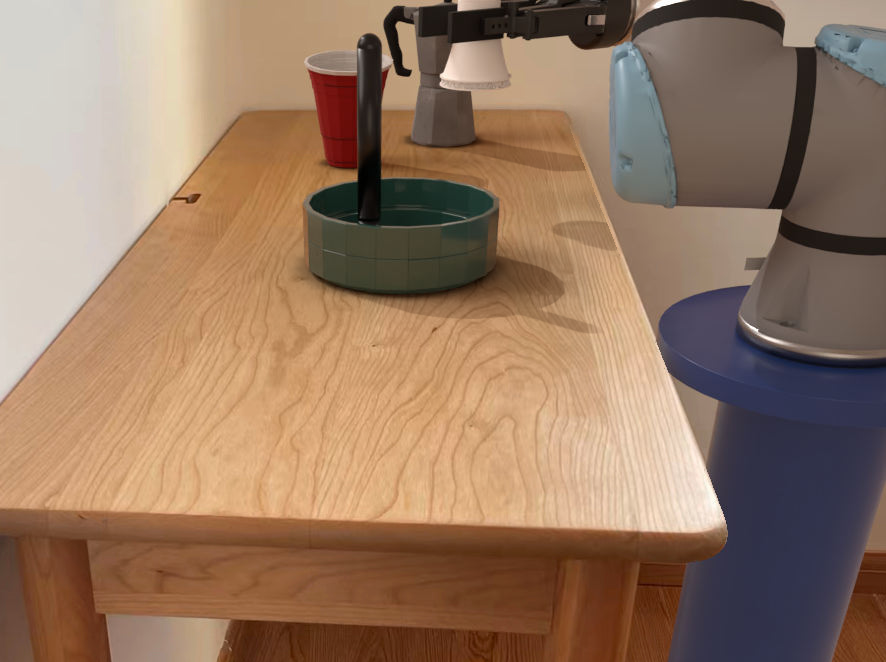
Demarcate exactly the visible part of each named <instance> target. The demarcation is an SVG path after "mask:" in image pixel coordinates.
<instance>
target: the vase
mask: <svg viewBox="0 0 886 662" xmlns="http://www.w3.org/2000/svg"><path fill="white" fill-rule="evenodd" d="M457 4H458V11H466V10H477V9H488V8H499V7H500V5H501V0H457ZM502 42H503V41H502V39H493V40H483V41H473V42H464V43H454V44H452V48H451V52H450V55H449V59H448V62H447V64H446V67H445V70H444V72H443V73H442V74H440V78H442V79H441V82H440V86H441V87H443V88H447V89H452V90H460V91H471V92H489V91H491V92H492V91H500V90H504V89H507V88H509V87H511V85H512V83H511V82H510V79H511V78H512V74H511V73H509V71H508V67H507V63H506V59H505V55H504V50H503V49H504V48H503V43H502Z"/></svg>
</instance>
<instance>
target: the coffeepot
mask: <svg viewBox="0 0 886 662" xmlns="http://www.w3.org/2000/svg"><path fill="white" fill-rule="evenodd" d="M446 4H457V3H456V2H453V0H443V2H440V3H437V4H434V5H446ZM434 5H432V6H434ZM419 7H420V6H406V5H394V6H393V7H392V8H391V9H390V11H389V12H388V13H387V14H386V16H385V17H384V19H383V22H382V25H383V27H382V28H383V31H384V35H385V38H386V41H387V45H388V49H389V53H390V56H391V58H392V59H393V63H392V65H393V68H394V72H395V74H396V75H397V76H399V77H403V78H409V77H411V75H412V73H413V69H410V68H406V67H405V66H404V64H403V62H404V61H403V58H404V57H403V51H402V48H401V46H400V40H399V39H400V38H399V31H398V29H397V24H398V22H399V23H404V24H409V25H414V34H415V43H416V55H417V64H418V71H419V72H420V73H419V75H420V76H419V84H420V85H418V90H417V97H416V101H415V102H416V103H415V108H414V115H413V120H412V127H411V131H410V139H411V142H412V143H414V144H417V145H421V146H428V147H443V148H444V147H445V148H447V147H459V146H465V145H469V144H472V143H474V142H475V141H476V139H477V138H476V130H475V129H476V128H475V119H474V118H475V117H474V109H473V107H474V105H473V98H472V91H460V90H452V89H447V88H443V87H441V86H440V82H441V79H442V78H440V74H442V73H443V72H444V70H445V67H446V64H447V62H448V59H449V55H450V52H451V48H452V44H450V43H447V35H443V36H433V37H423V38H422V37H418V19H419Z"/></svg>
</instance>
